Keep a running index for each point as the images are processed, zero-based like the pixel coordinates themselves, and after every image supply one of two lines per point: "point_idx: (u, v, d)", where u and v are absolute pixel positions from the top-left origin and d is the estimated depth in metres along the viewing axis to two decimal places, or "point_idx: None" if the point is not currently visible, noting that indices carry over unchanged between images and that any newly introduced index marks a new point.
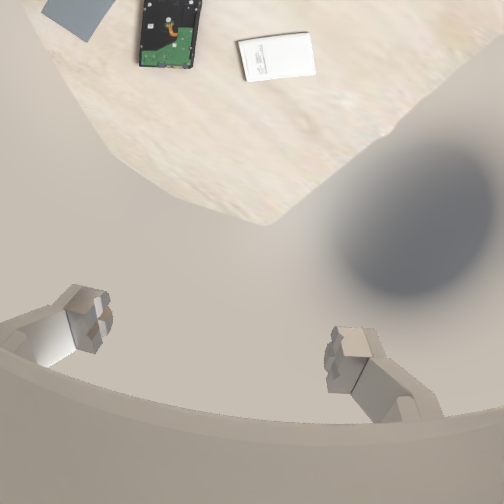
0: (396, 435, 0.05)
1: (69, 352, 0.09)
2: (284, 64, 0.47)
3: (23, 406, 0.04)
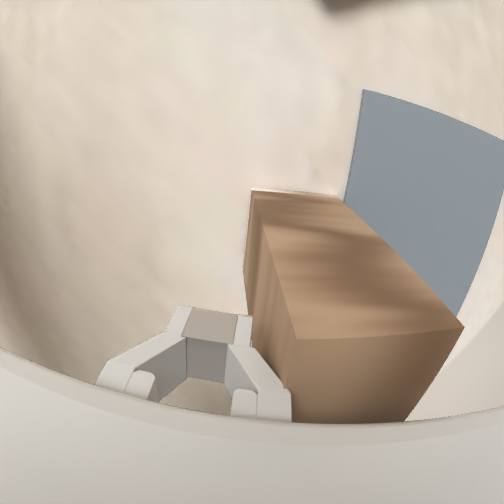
0: (396, 435, 0.05)
1: (180, 381, 0.09)
2: None
3: (23, 406, 0.04)
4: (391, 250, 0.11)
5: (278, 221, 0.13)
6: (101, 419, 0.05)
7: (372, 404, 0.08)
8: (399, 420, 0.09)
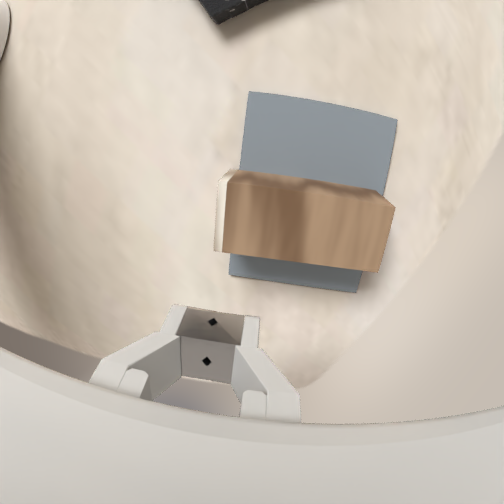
0: (396, 435, 0.05)
1: (175, 380, 0.09)
2: None
3: (23, 406, 0.04)
4: None
5: (295, 188, 0.20)
6: (101, 419, 0.05)
7: None
8: None
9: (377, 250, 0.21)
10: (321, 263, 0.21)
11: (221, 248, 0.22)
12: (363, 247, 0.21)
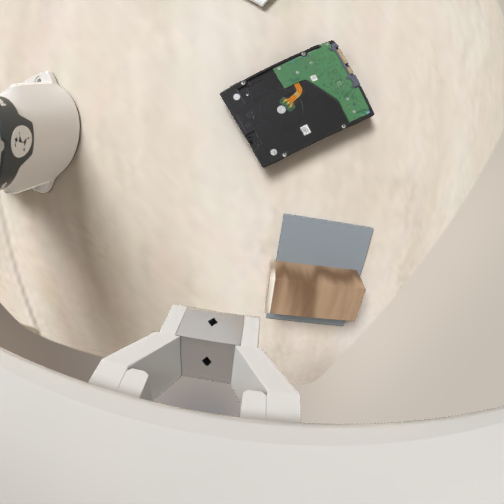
0: (396, 435, 0.05)
1: (175, 380, 0.09)
2: None
3: (23, 406, 0.04)
4: (324, 266, 0.41)
5: (311, 280, 0.37)
6: (101, 419, 0.05)
7: None
8: None
9: (355, 310, 0.38)
10: (323, 317, 0.39)
11: (269, 311, 0.39)
12: (347, 309, 0.38)
